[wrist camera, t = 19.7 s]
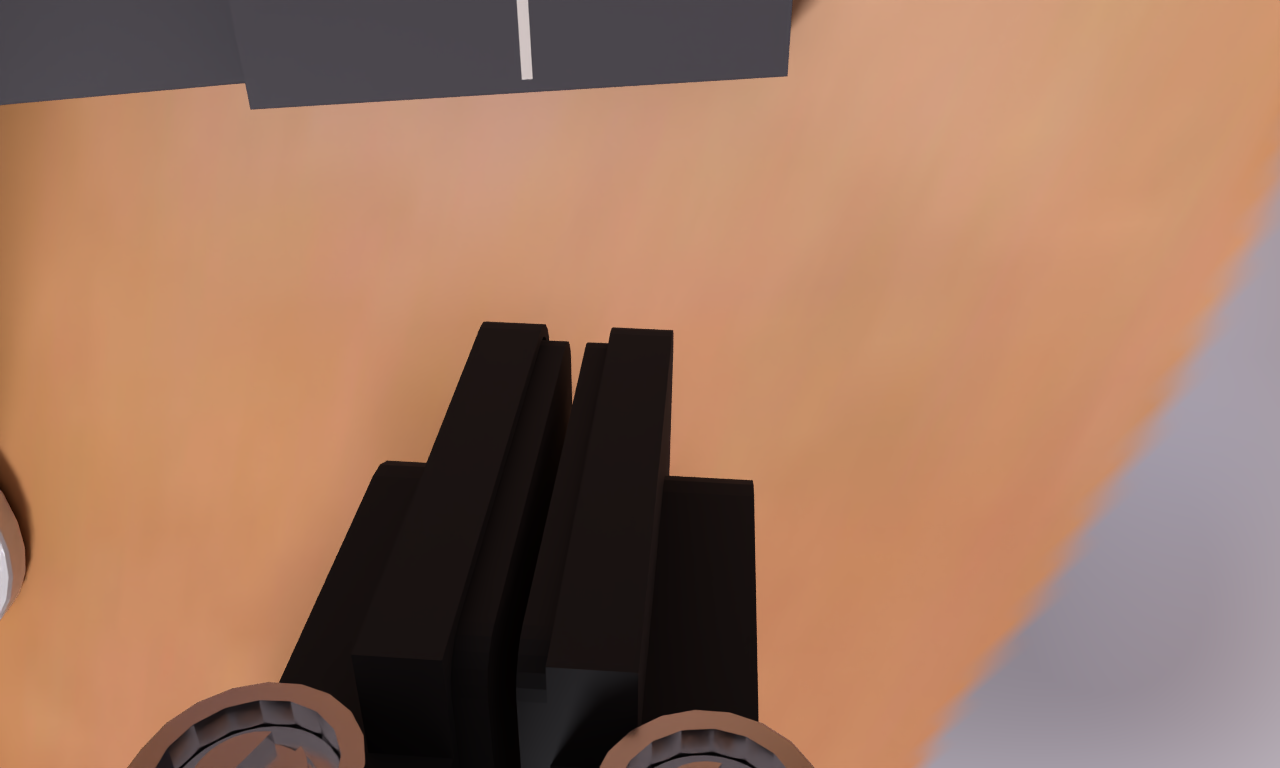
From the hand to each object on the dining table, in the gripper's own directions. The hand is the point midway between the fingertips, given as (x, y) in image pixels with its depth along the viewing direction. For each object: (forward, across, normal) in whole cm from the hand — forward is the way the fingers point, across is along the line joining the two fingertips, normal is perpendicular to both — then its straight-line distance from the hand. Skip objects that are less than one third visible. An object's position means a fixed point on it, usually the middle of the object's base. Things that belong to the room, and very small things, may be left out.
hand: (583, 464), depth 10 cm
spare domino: (+18, -2, -1) cm, 18 cm away
